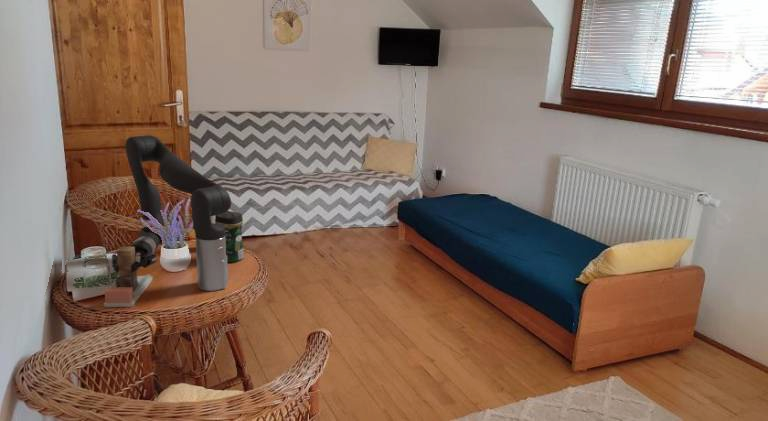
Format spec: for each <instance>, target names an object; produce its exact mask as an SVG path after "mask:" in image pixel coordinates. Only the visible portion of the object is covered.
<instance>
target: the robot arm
mask: <svg viewBox="0 0 768 421" xmlns="http://www.w3.org/2000/svg"><path fill="white" fill-rule="evenodd" d="M125 153H126V157H127V158H126V159H127V161H128V164H129V166H130V170H131V174H132V178H133V181H134V183H135V187H136V190H137V194H138V200H139V206H140V213H141V211H144V212H149V213H150V214H151V215H152V216H153V217H154V218H156V219H157V220H158V222H159V223H160V224H161V225H162V226H164V223H163V219H162V216H161V212H160V210H162V211H163V209H162V208H163V206H162V201H161V196H160V195H161V194H160V193H159V191H158V189H157V187H155V185H154V184H153V183H152V182H151V180H150V179H149V178H148V177H147V175H146V173H145V171H144V169H143V163H145V162H155V163H156V162H157V163H158V164H159V165H158V166H159V167H158V173H159V176H160V178H161V179H162V180H163V181H164V182H166V184H167V185H169V186H170V187H171V188H173V189H175V190H177V191H181V192H182V193H188V194H190V195H191V197H190V206H191V214H192V216H191V217H192V224H193V226H192V227H193V229H194V233H195V235H194V236H195V255H196V274H197V276H196V277H197V281H196V282H197V288H198V289H199V290H201V291H209V292H210V291H212V292H213V291H219V290H225V289H226V288H227V286H228V283H229V271H228V270H229V269H228V268H229V267H228V264H229V262H227V255H226V241H225V228H224V227H223V226H222V225H219V224H214V223H211V217H210V216H215V215H219V214H223V213H225V212H227V211H229V210H230V209H231V207H232V206H231V205H232V199H231V197H230V194H229V193H228V191H227V190H226V189H225V188H224V187H223V186H221V185H220V184H218V183H216V182H214V181H212V180H211V179H209V178H207V177H206V176H205V175H203V174H201V173H200V172H198V171H197V170H196V169H195V168H193V167H192V165H189V164H188V163H187V162H186V161H184V160H183V159H181V158H180V157H179V156H178V155H177V154H175V153H174V152H173V151H171V150H170V149H169V148H168V147H167V146H166V145H165V143H163V142H162V141H161V140H160V139H159V138H158V137H156V136H154V135H150V134H148V135H138V136H130V137H128V138H127V139H126V142H125ZM141 218H142V219H143V220H145V221H151V220H150V219H149V218H148V217H147V216H145V215H143V214H142V213H141ZM149 226H150V227H152V226H153V225H149ZM138 236H139V237H138V238H136V239H135V240H134V241H133V242H131V244H130V245H129V246H128V247H135V257H136V262H134V263H133V264H132V265H131V272H135V271H136V270H137V271H138V270H139V269H141V268H145V269H146V268H148V267H150V266H152V265H154V264H155V263H156V262H157V257H156V256H157V255H156V254H155V251H157V250H158V247H160V245H163V244H162V240H161V237H160V236H159V235H158V234H156V233H154V232H152V231H151V230H150V229H149V228H148V227H147V226H143V227H141V229H140V230H139V235H138ZM111 265H112V269H113V271H114V272H115V273H119V270H118V259H117V253H116V254H115V253H114V254H112V255H111Z"/></svg>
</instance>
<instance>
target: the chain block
mask: <svg viewBox="0 0 768 421" xmlns="http://www.w3.org/2000/svg"><path fill="white" fill-rule="evenodd" d="M116 256H117V259H118V270H119V272H118V276H115V278H114V279H115V287H123V286H124V287H133V291H134V290H135V289H136V287H137V286H138V285H139V284H138V282H137V276H138V272H137V271H138V270H136V271H135V272H131V265H132V264H133V263H134V262H136V257H135V247H129V246H120V247H119V248H118V249H117V250H116Z"/></svg>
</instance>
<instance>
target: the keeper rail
mask: <svg viewBox="0 0 768 421" xmlns="http://www.w3.org/2000/svg"><path fill="white" fill-rule="evenodd" d="M152 281H153V275H150V273H149V274H145V275H137V282H138V284H139V285H138V286H137V287H136V289H135V290H134V291H133V287H124V286H123V287H116V286H115V287H114V286H113V287H112V286H107V288H106V289H105V290H104V298H105V301H104V303H103V307H104V308H112V307H113V308H117V307H118V308H120V307H121V308H122V307H123V308H126V307H127V308H128V307H134V306H135V303H136V302H137V301H138V300H139V298H140V297H141V295H143V294H144V292H145V291H146V289H147V288H148V286H149V285H150V283H151V282H152Z"/></svg>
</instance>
